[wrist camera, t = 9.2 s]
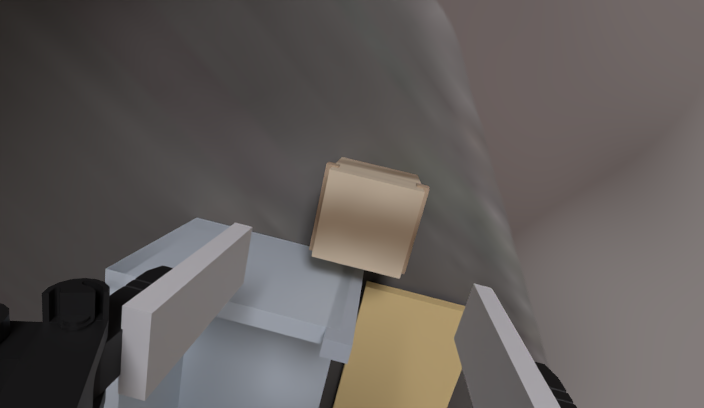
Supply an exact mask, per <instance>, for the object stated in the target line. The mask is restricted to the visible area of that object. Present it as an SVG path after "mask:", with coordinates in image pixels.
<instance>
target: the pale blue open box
mask: <svg viewBox="0 0 704 408" xmlns="http://www.w3.org/2000/svg"><path fill="white" fill-rule="evenodd" d="M229 227H230V226H228V225H224V224H220V223H216V222H212V221H208V220H204V219H200V218H195V219H193V220H192V221H190V222H188V223H186V224H184V225H183V226H181V227H179V228H177V229H176V230H174V231H172V232H170V233H168V234H167V235H165V236H163V237H161V238H159V239H158V240H156V241H154V242H152V243H151V244H149V245H147V246H145V247H143V248H142V249H140V250H138V251H136V252H134V253H133V254H131V255H129V256H127V257H126V258H124V259H122V260H120V261H118V262H117V263H115V264H113V265H111V266H109V267H108V268H106V271H105V283H106V284H107V285H108V286H109V287H110V295H111V294H112V293H114V292H116V291H117V290H119V289H120V288H122V287H123V286H126V284H128V283H129V282H131V281H132V280H135V279H136V278H137V277H138V276H140V275H141V274H143V273H144V272H146V271H147V270H150V269H153V268H156V267H159V266H162V265H163V266H167V267H171V268H174V267H176V266H177V265H178V264H180V263H181V262H183V261H184V260H185V259H187V258H188V257H189V256H191V255H192V254H193V253H195V252H196V251H197V250H199V249H200V248H202V247H203V246H204V245H206V244H207V243H208V242H210V241H211V240H212V239H214V238H215V237H217V236H218V235H219V234H221V233H222V232H223V231H225V230H226V229H227V228H229ZM309 247H310V246H306V245H302V244H298V243H294V242H290V241H286V240H282V239H278V238H275V237H271V236H267V235H263V234H259V233H255V232H252V233H251V239H250V246H249V252H248V258H247V265H246V271H245V277H244V283H243V285H242V286H241V287H240V288H239V289H238V290H237V292H236V293H235V294H234V295H233V296H232V298H231V299H230V300H229V301H228V302H227V304H226V305H225V306H224V307H223V308H222V310H221V311H220V312H219V313H218V314H217V316H216V317H215V318H214V319H213V320H212V322H211V323H210V324H209V325H208V326H207V327H206V329H205V330H204V331H203V332H202V333H201V335H200V336H199V337H198V338H197V339H196V341H195V342H194V343H193V344H192V345H191V347H190V348H189V349H188V350H187V351H186V353H185V354H184V355H183V356H182V357H181V358H180V360H179V361H178V362H177V363H176V364H175V366H174V367H173V368H172V369H171V370H170V372H169V373H168V374H167V375H166V376H165V378H164V379H163V380H162V381H161V382H160V384H159V385H158V386H157V387H156V388H155V389H154V391H153V392H152V393H151V394H150V395H149V397H148V398H147V399H146V400H145V401H143V400H139V399H136V398H132V397H128V396H125V395H121V394H118V380H119V377H118V378H117V379H116V380H115V381H114V382H113V383H111V384H110V385H109V386H108V387H107V388H106V399H105V404H104V408H319V404H320V400H321V396H322V393H323V389H324V385H325V381H326V377H327V373H328V369H329V365H330V361H331V360H334V361H338V362H342V363H345V364H348V360H349V357H350V353H351V349H352V345H353V339H354V332H355V326H356V319H357V313H358V306H359V300H360V293H361V287H362V280H363V274H364V270H363V269H359V268H355V267H351V266H347V265H343V264H339V263H335V262H331V261H327V260H323V259H320V258H316V257H312V251H311V250H309Z"/></svg>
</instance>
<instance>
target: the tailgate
mask: <svg viewBox="0 0 704 408" xmlns="http://www.w3.org/2000/svg"><path fill="white" fill-rule="evenodd" d="M464 309H465V306H463V305H459V304H455V303H451V302H447V301H443V300H439V299H436V298H432V297H428V296H424V295H420V294H416V293H412V292H408V291H405V290H401V289H397V288H393V287H389V286H385V285H381V284H377V283H373V282H370V281H367V282H366V285H365V289H364V293H363V297H362V300H361V304H360V308H359V312H358V315H357V319H356V326H355V332H354V339H353V345H352V349H351V353H350V357H349V360H348V364H344V367H343V371H342V375H341V379H340V382H339V386H338V390H337V393H336V397H335V401H334V405H333V408H447V406H448V403H449V401H450V398H451V396H452V393H453V390H454V388H455V385H456V383H457V380H458V377H459V375H460V372H461V370H462V366H461V362H460V359H459V355H458V352H457V348H456V345H455V341H454V336H455V333H456V331H457V328H458V325H459V323H460V320H461V317H462V314H463V312H464Z"/></svg>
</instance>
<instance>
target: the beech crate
mask: <svg viewBox="0 0 704 408" xmlns="http://www.w3.org/2000/svg"><path fill="white" fill-rule="evenodd" d="M429 189H430V188H429V186H427V185H423V184H421V182H420V180H419V178H418V175H415V174H411V173H407V172H402V171H398V170H394V169H390V168H386V167H382V166H377V165H373V164H369V163H365V162H361V161H357V160H352V159H348V158H344V157H342V158H341V159H340V160H338V161H337V162H336V163H332V162H328V163H327V165H326V169H325V174H324V179H323V184H322V189H321V194H320V199H319V203H318V208H317V213H316V218H315V223H314V228H313V233H312V237H311V242H310V247H309V250H311V251H312V257H316V258H320V259H323V260H327V261H331V262H335V263H339V264H343V265H347V266H351V267H355V268H359V269H363V270H367V271H371V272H375V273H379V274H383V275H387V276H391V277H395V278H399V279H400V276H401V273H402V274H405V271H406V267H407V264H408V260H409V257H410V254H411V250H412V247H413V244H414V240H415V237H416V233H417V230H418V227H419V223H420V220H421V216H422V213H423V210H424V206H425V203H426V199H427V196H428V193H429Z"/></svg>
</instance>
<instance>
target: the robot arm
mask: <svg viewBox="0 0 704 408" xmlns="http://www.w3.org/2000/svg"><path fill="white" fill-rule="evenodd" d="M251 233H252V227H250V226H246V225H242V224H238V223H234V224H233V225H232V226H230V227H229V228H227V229H226V230H225V231H223V232H222V233H221V234H219V235H218V236H217V237H215V238H214V239H212V240H211V241H210V242H208V243H207V244H206V245H204V246H203V247H202V248H200V249H199V250H197V251H196V252H195V253H193V254H192V255H191V256H189V257H188V258H187V259H185V260H184V261H183V262H181V263H180V264H178V265H177V266H176V267H174V268H171V267H167V266H163V265H162V266H159V267H156V268H153V269H150V270H147V271H146V272H144V273H143V274H141V275H140V276H138V277H137V278H136V279H135V280H132V281H131V282H129V283H128V284H126V286H123V287H122V288H120V289H119V290H117V291H116V292H114V293H112V294H111V295H110V287H109V286H108V285H107V284H106V283H105V282H103V281H100V280H97V279H88V278H82V279H71V280H67V281H63V282H59V283H57V284H55V285H52V286H50V287H48V288H47V289H46V290H45V291H44V292H43V293H42V312H43V322H24V321H10V319H9V308H8V307H6V306H5V305H4V304H0V408H104V404H105V399H106V388H107V387H108V386H109V385H110V384H111V383H113V382H114V381H115V380H116V379H117V378H118V377H119V380H118V394H121V395H125V396H128V397H132V398H136V399H139V400H143V401H145V400H146V399H147V398H148V397H149V395H150V394H151V393H152V392H153V391H154V389H155V388H156V387H157V386H158V385H159V384H160V382H161V381H162V380H163V379H164V378H165V376H166V375H167V374H168V373H169V372H170V370H171V369H172V368H173V367H174V366H175V364H176V363H177V362H178V361H179V360H180V358H181V357H182V356H183V355H184V354H185V353H186V351H187V350H188V349H189V348H190V347H191V345H192V344H193V343H194V342H195V341H196V339H197V338H198V337H199V336H200V335H201V333H202V332H203V331H204V330H205V329H206V327H207V326H208V325H209V324H210V323H211V322H212V320H213V319H214V318H215V317H216V316H217V314H218V313H219V312H220V311H221V310H222V308H223V307H224V306H225V305H226V304H227V302H228V301H229V300H230V299H231V298H232V296H233V295H234V294H235V293H236V292H237V290H238V289H239V288H240V287H241V286H242V285H243V283H244V277H245V271H246V265H247V258H248V252H249V246H250V239H251ZM454 341H455V345H456V348H457V352H458V355H459V359H460V362H461V366H462V369H463V373H464V376H465V380H466V383H467V387H468V390H469V394H470V397H471V401H472V404H473V408H577V407H576V405H574V404H573V401H572V399H571V398H570V396H569V394H568V393H566V390H565V388H564V386H563V385H562V383H561V382H560V380H559V379H558V377H557V376H556V375H555V374H554V373H553V372H552V371H551V370H550V369H549V368H548V367H547V366H546V365H545V364H541V363H537V362H534V360H533V359H532V357H531V355H530V354H529V352H528V350H527V348H526V347H525V345H524V343H523V341H522V340H521V338H520V336H519V334H518V333H517V331H516V329H515V328H514V326H513V324H512V322H511V321H510V319H509V317H508V315H507V314H506V312H505V310H504V309H503V307H502V305H501V303H500V302H499V300H498V298H497V296H496V295H495V293H494V291H493V289H492V288H489V287H485V286H481V285H477V284H473V287H472V290H471V292H470V295H469V298H468V301H467V303H466V306H465V309H464V312H463V314H462V317H461V320H460V323H459V325H458V328H457V331H456V333H455V336H454Z"/></svg>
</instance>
